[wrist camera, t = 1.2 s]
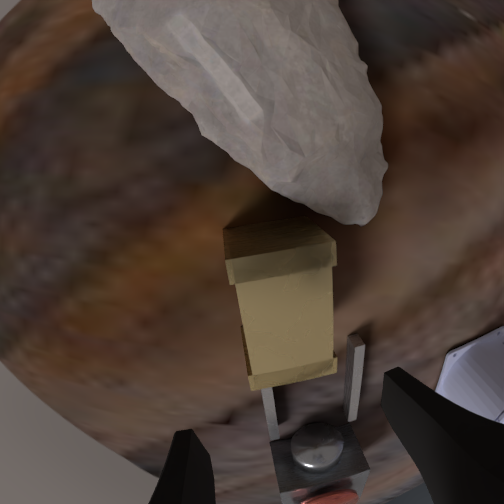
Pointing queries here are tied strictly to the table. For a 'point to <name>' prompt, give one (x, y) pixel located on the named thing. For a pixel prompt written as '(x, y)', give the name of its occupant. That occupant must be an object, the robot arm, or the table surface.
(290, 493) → the valve
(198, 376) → the table surface
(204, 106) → the stone tool
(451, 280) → the table surface
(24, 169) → the table surface
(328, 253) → the gold flanged block
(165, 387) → the table surface
